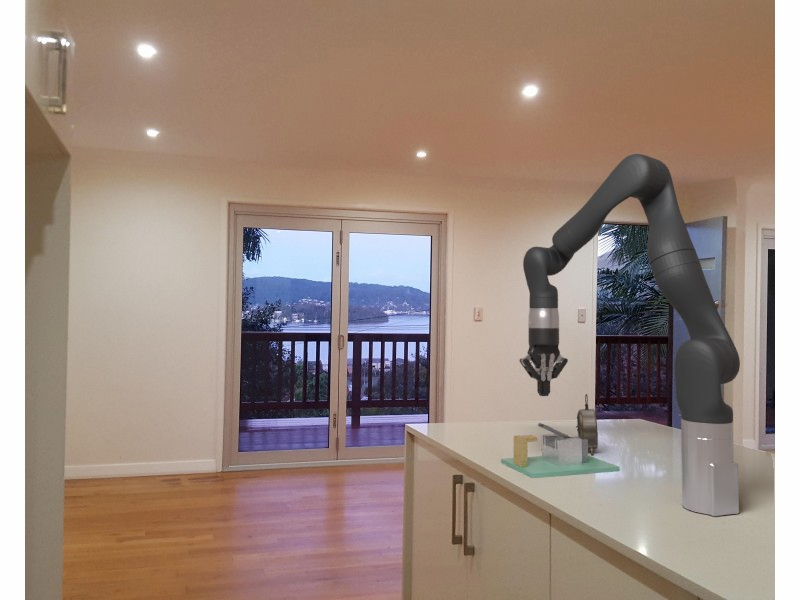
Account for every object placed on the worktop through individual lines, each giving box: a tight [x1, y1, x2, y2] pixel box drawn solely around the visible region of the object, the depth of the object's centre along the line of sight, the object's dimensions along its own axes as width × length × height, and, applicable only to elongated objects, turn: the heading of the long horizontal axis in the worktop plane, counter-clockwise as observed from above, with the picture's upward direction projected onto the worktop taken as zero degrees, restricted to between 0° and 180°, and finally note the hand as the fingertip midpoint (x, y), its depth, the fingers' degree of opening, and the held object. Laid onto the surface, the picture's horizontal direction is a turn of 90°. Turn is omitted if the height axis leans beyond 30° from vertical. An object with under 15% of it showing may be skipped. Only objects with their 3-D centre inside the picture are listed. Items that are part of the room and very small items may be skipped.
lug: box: [513, 434, 538, 467], centre depth 153 cm, size 4×5×7 cm
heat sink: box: [541, 433, 589, 467], centre depth 157 cm, size 8×10×6 cm
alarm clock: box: [575, 393, 599, 456], centre depth 174 cm, size 11×5×16 cm, turn 168°
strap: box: [537, 422, 573, 439], centre depth 156 cm, size 3×12×1 cm, turn 107°
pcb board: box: [500, 455, 621, 479], centre depth 156 cm, size 16×24×1 cm, turn 108°
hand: (543, 395), depth 155 cm, fingers closed
